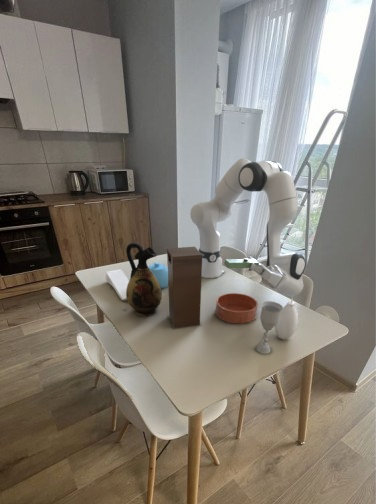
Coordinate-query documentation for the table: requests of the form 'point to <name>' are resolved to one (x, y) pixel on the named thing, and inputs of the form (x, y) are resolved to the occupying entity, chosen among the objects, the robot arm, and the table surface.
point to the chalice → (268, 322)
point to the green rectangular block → (240, 263)
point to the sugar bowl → (160, 274)
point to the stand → (184, 286)
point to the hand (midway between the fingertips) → (248, 262)
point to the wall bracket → (118, 282)
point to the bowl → (236, 308)
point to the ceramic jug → (142, 282)
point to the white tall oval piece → (287, 321)
